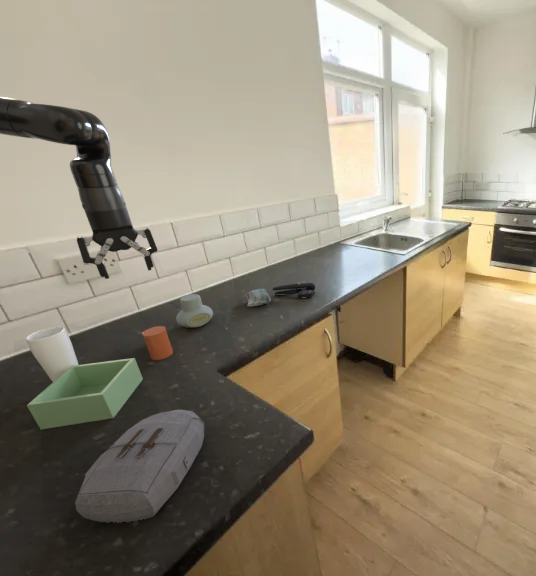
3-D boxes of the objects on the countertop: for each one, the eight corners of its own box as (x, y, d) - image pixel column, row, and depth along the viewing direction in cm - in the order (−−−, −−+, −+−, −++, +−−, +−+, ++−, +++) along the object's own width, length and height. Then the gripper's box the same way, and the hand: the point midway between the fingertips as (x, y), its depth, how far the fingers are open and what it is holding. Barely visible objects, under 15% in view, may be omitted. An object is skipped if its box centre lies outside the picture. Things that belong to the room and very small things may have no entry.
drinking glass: (92, 380, 82) (69, 330, 76) (58, 396, 77) (30, 343, 71) (82, 372, 85) (58, 323, 79) (48, 387, 80) (20, 336, 74)
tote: (40, 429, 67) (26, 405, 65) (82, 387, 79) (71, 365, 77) (113, 418, 70) (102, 394, 67) (143, 379, 82) (134, 357, 79)
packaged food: (248, 311, 117) (246, 299, 115) (244, 300, 126) (241, 288, 125) (272, 306, 121) (270, 294, 119) (266, 295, 130) (264, 284, 128)
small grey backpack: (168, 525, 49) (223, 424, 67) (151, 488, 46) (214, 393, 64) (67, 531, 48) (150, 428, 67) (43, 494, 45) (137, 396, 64)
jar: (147, 361, 89) (138, 337, 86) (156, 350, 94) (147, 327, 91) (168, 358, 90) (160, 334, 87) (176, 348, 95) (168, 324, 92)
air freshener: (209, 314, 115) (202, 289, 112) (218, 321, 110) (211, 295, 106) (175, 325, 108) (167, 299, 104) (183, 334, 103) (175, 306, 99)
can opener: (318, 292, 132) (317, 279, 130) (313, 299, 125) (311, 286, 123) (277, 291, 134) (275, 279, 131) (270, 298, 127) (268, 285, 125)
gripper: (141, 202, 80) (160, 264, 86) (64, 209, 71) (92, 276, 78) (144, 205, 74) (164, 270, 81) (62, 213, 66) (91, 285, 72)
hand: (129, 273), depth 79 cm, fingers open, 8 cm apart
